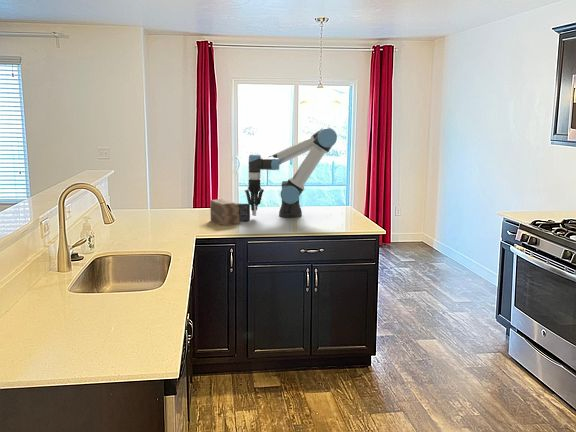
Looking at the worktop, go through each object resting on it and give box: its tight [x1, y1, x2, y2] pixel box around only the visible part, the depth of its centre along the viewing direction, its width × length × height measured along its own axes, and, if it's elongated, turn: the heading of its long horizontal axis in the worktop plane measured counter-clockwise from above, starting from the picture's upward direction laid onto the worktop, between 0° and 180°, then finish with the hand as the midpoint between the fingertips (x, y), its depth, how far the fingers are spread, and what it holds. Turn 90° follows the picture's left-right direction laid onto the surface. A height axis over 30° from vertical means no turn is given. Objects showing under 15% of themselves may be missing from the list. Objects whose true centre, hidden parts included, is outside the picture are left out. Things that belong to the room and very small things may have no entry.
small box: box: [238, 203, 251, 222], centre depth 367 cm, size 11×6×10 cm, turn 83°
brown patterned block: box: [209, 198, 240, 227], centre depth 360 cm, size 11×18×13 cm, turn 32°
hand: (254, 215), depth 372 cm, fingers closed
